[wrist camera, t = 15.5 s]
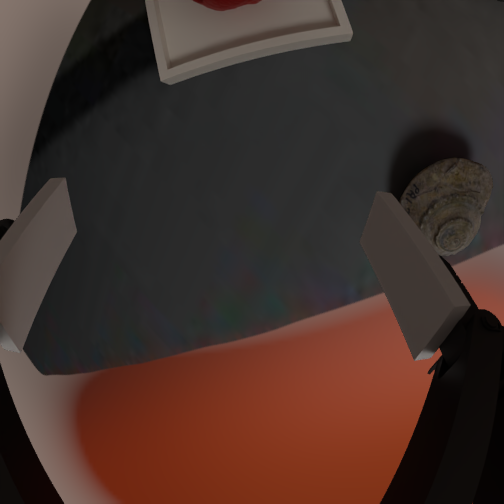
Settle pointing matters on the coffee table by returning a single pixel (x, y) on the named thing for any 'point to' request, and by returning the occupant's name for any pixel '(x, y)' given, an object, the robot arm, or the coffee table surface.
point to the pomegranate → (225, 4)
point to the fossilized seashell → (448, 202)
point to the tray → (238, 32)
